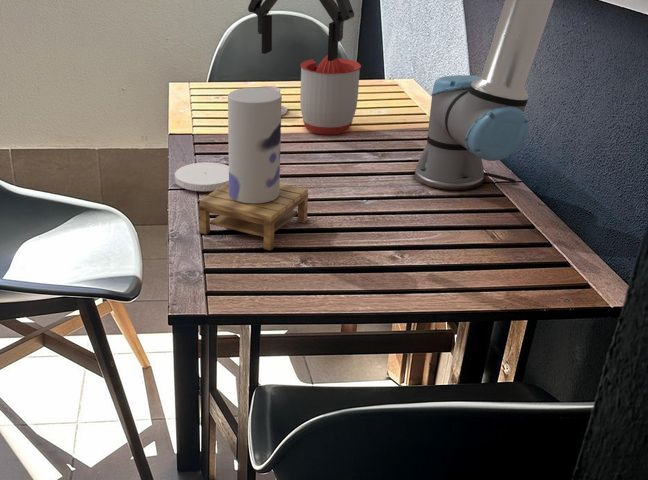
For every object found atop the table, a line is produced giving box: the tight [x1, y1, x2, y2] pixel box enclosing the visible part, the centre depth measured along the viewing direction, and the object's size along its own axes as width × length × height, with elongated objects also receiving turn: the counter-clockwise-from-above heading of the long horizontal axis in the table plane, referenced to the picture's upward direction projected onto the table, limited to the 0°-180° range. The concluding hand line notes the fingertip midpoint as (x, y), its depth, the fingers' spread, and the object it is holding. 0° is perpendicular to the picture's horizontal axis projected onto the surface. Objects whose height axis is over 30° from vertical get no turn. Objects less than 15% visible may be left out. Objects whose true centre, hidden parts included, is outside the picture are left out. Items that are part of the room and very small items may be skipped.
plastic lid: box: [174, 161, 229, 192], centre depth 184 cm, size 14×14×2 cm
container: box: [227, 87, 283, 204], centre depth 156 cm, size 10×10×20 cm
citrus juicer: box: [299, 54, 362, 135], centre depth 213 cm, size 16×17×20 cm
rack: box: [198, 182, 309, 251], centre depth 163 cm, size 16×16×7 cm
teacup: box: [256, 85, 288, 116], centre depth 230 cm, size 12×12×6 cm
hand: (299, 55), depth 151 cm, fingers open, 13 cm apart
